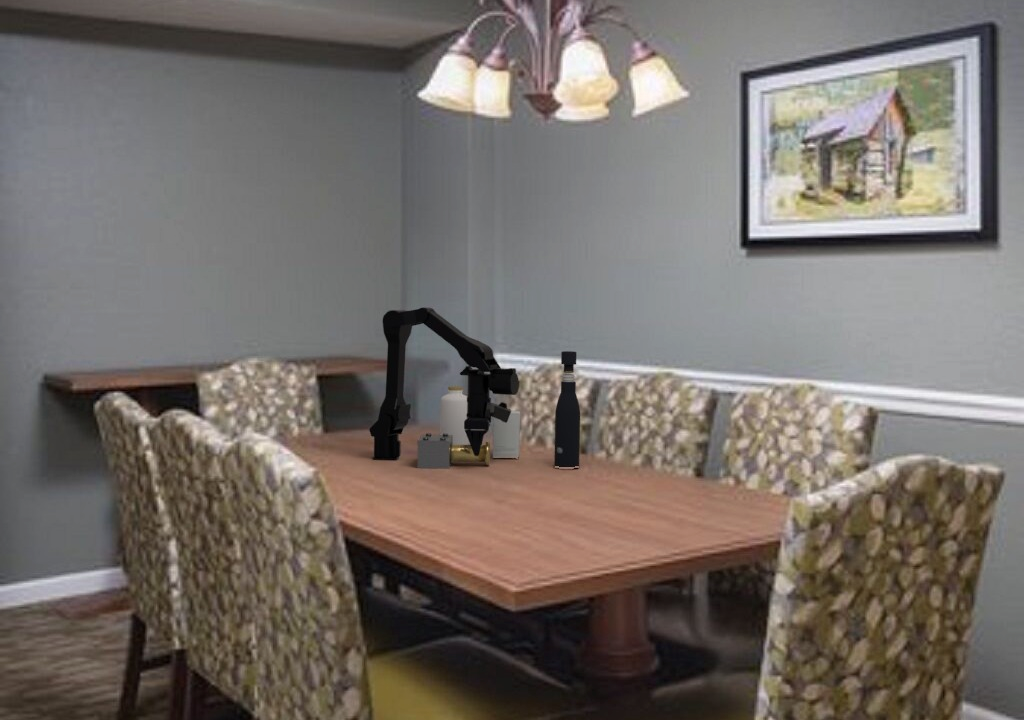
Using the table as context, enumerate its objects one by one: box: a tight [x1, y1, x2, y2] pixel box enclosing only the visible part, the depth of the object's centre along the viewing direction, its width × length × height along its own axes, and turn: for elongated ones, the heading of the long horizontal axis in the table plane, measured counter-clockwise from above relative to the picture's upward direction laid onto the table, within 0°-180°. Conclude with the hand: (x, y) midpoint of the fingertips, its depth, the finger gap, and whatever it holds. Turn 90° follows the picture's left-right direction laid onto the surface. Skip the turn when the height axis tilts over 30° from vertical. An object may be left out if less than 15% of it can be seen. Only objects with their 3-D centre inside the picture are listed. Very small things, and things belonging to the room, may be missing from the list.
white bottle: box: [439, 386, 470, 445], centre depth 321 cm, size 8×8×18 cm
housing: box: [417, 432, 453, 469], centre depth 293 cm, size 8×12×8 cm, turn 179°
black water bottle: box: [553, 350, 581, 467], centre depth 290 cm, size 6×6×30 cm
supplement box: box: [492, 410, 521, 458], centre depth 308 cm, size 7×7×13 cm
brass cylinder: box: [450, 441, 491, 466], centre depth 292 cm, size 16×6×6 cm, turn 89°
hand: (477, 453), depth 292 cm, fingers open, 9 cm apart
